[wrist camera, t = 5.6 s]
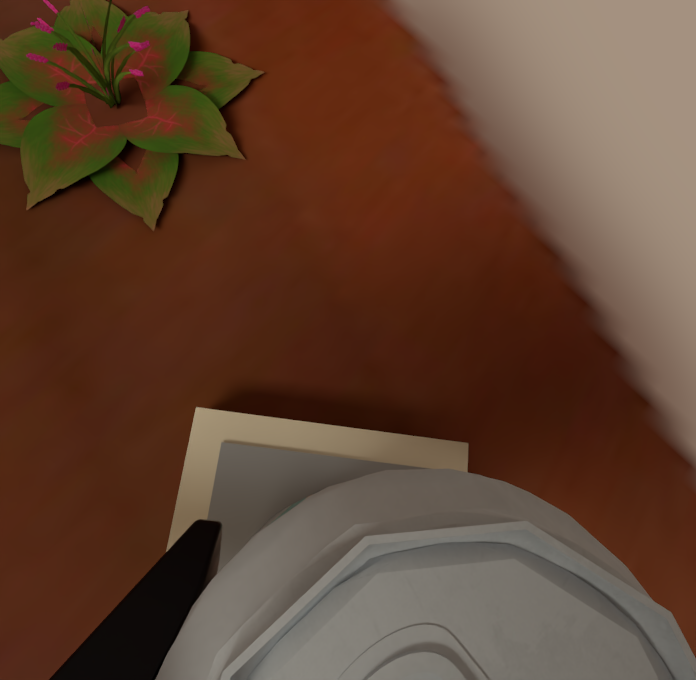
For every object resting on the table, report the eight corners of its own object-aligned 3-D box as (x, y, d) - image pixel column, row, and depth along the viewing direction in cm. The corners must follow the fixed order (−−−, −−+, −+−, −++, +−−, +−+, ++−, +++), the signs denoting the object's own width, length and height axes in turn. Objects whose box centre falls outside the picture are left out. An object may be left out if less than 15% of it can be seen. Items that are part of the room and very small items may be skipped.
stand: (441, 744, 16) (459, 770, 14) (139, 722, 15) (124, 747, 13) (453, 448, 19) (470, 442, 17) (202, 415, 18) (195, 406, 16)
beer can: (307, 733, 13) (504, 1935, 2) (196, 581, 14) (-106, 850, 3) (437, 596, 15) (966, 856, 4) (330, 465, 16) (485, 336, 4)
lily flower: (-110, 153, 20) (-217, 54, 15) (74, -37, 24) (30, -158, 19) (172, 288, 20) (143, 227, 15) (309, 75, 24) (317, -22, 19)
